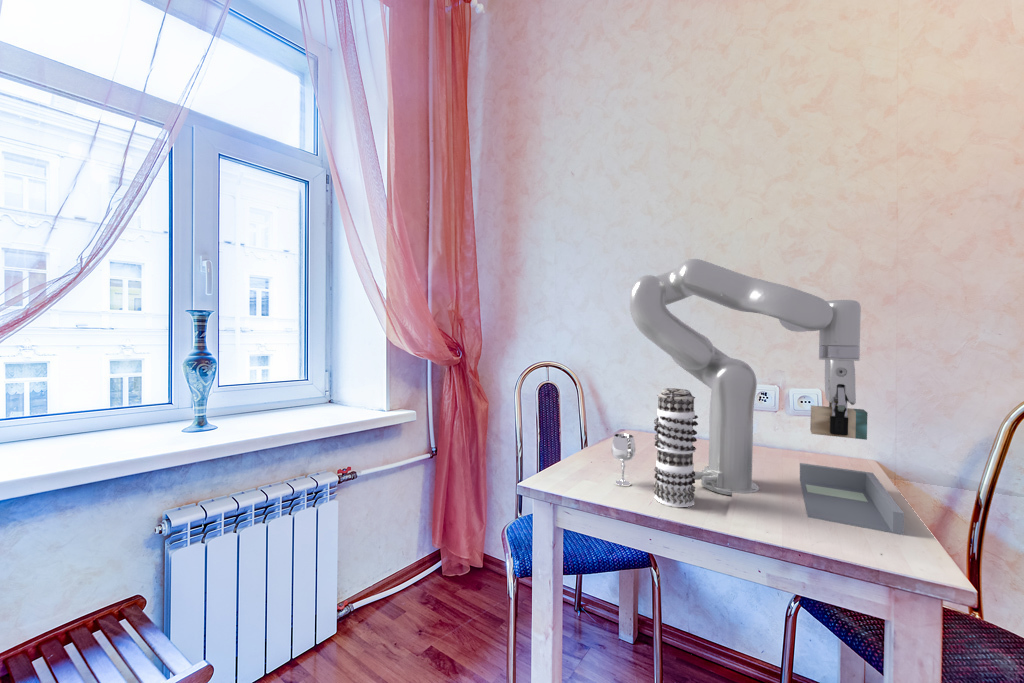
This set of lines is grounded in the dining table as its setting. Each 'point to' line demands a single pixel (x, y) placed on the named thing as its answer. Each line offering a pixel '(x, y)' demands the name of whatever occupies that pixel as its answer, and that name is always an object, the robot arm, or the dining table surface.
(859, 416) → the oak block
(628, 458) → the wineglass
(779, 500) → the dining table surface
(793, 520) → the dining table surface
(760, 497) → the dining table surface
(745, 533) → the dining table surface
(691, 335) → the robot arm
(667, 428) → the decorative candle
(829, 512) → the tray
